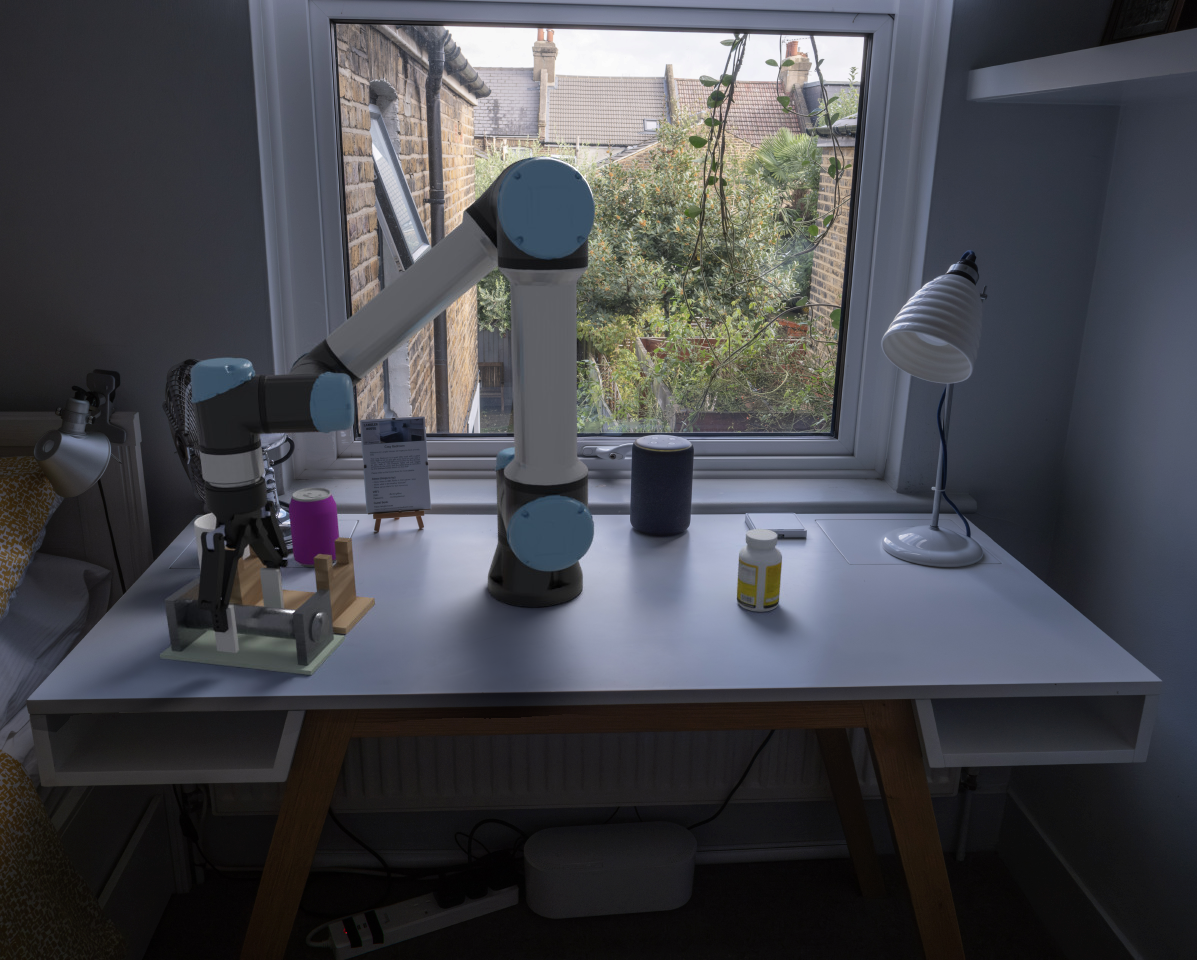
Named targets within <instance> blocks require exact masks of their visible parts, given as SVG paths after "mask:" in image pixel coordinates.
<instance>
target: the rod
mask: <svg viewBox="0 0 1197 960" xmlns="http://www.w3.org/2000/svg"><path fill="white" fill-rule="evenodd" d="M199 583H200V576H197V577H196V578H194V579H193V580H191V581H190V582H188V583H187V584H185V585H184V586H183V587H181V588H179V589H178V590H176V591H175V592H174V593H172V594H170V595H169V596H168V597H166V598H165V599H163V602H164V609H165V616H166V620H167V622H166V623H167V628H168V633H169V641H170V646H171V649H172V651H178V652H181V651H183V650H184V649H185V648H187V647H188V646H189V645H190V644H192V643H193V642H194V641H195V640H197V639H198V638H199V637H200V636H202V635H203V634H204V633H206V632H207V631H214V629H213V623H212V616H211V611H210V610H201V609H198V595H199ZM229 605H234V613H235V621H236V629H237V634H246V635H255V636H265V637H274V638H283V639H293V640H296V650H297V659H298V665H304V666H308V665H309V664H310V663H311V662H312V661H313V660H314V659H315V658H316V657H317V656H318V655H319V654H320V653H321V652H322V651H323V650H324V649H325V648H326V647H327V646H328V645H329V644H330V643H331V642H332V641H333V640H334V635H335V633H333V623H332V612H331V601H330V590H328V589H319V590H318V591H317V590H316V592H315V594H314V595H312V596H311V597H310V598H309V599H308V600H307V601H306V602H305V603H303V604H302V605H301V606H300V607H299V608H298V609H297V610H294V609H284V608H274V607H264V606H254V605H244V604H234V603H229Z"/></svg>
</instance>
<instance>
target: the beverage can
mask: <svg viewBox="0 0 1197 960" xmlns="http://www.w3.org/2000/svg"><path fill="white" fill-rule="evenodd" d="M337 505H338V504H337V502H336V501H335V498H334V496H333V494H332V493H331V490H330V489H328V488H325V487H306V488H302V489H301V488H300V489H298V490H296V491H294V492H293V493H292V494H291V499H290V501H289V506H288V514H289V517H288V518H289V525H290V534H291V535H290V536H291V545H292V552H293V553H292V554H293V559H294V561H295V562H296V563H298V564H299V565H300V566H303V567H307V568H315V567H314V557H316V556H317V555H318V554H325V555H332V564H333V563H334V562H336V553H335V540H336V539H338V538H339V537H340V530H339V521H338V520H339V518H338V507H337Z"/></svg>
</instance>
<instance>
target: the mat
mask: <svg viewBox="0 0 1197 960" xmlns="http://www.w3.org/2000/svg"><path fill="white" fill-rule="evenodd" d="M237 637H238V645H239V651H238V652H237V653H232V652H223V651H217V645H216V638H215V631H207V632H206V633H204V634H203V635H202V636H200V637H199V638H198V639H197V640H195V641H194V642H193V643H192V644H190V645H189V646H188V647H187V648H185V649H184V650H183V651H181V652H178V651H172V649H171V645H170V646H169V647H168V648H166V649H164V651H162V652H161V653H160V654H159V658H160V659H161V660H163V659H164V660H173V661H179V662H180V661H182V662H189V663H191V662H192V663H199V664H200V663H202V664H210V665H215V666H216V665H218V666H224V667H225V666H227V667H235V668H236V667H237V668H242V669H243V668H244V669H253V670H254V669H255V670H262V671H263V670H264V671H270V672H271V671H272V672H281V673H289V674H297V675H307V676H312V675H313V674H314V673H315V672H316V671H317V670H318V669H319V668H320V667H321V665H323V663H324V662H326V661H327V660H328V658H329V657H330V656H331V655H332V654H333V653H334V652H335V651H336V649H337V648H338V647H340V646H341V645H342V644H343V642H345V640H346V637H345V635H344V634H341V635H340V634H334V640H333V641H332V642H331V643H330V644H329V645H328V646H327V647H326V648H325V649H324V650H323V651H322V652H321V653H320V654H319V655H318V656H317V657H316V658H315V659H314V660H313V661H312V662H311V663H310V664H309V665H308V666H304V665H298V659H297V650H296V640H293V639H283V638H274V637H265V636H255V635H246V634H237Z"/></svg>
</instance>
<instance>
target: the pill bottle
mask: <svg viewBox="0 0 1197 960" xmlns="http://www.w3.org/2000/svg"><path fill="white" fill-rule="evenodd" d="M745 543H746V545H744V546H743V547H741V549H740V551H739V552H738V564H737V565H738V567H737V568H738V569H737V584H736V585H737V586H736V589H737V590H736V601H737V604H738V605H739V606H740V607H741V608H743V609H745V610H748V611H751V612H760V613H762V612H771V611H772V610H775V609H776V608H777V607H778V606H779V603H780V595H781V593H780V592H781V579H782V565H783V564H782V563H783V554H782V552H781V551H780V549H778V548H777V544H778V534H777V533H776V532H775V531H774V530H771V529H767V528H754V529H749V530H748V531H746V533H745Z"/></svg>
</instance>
